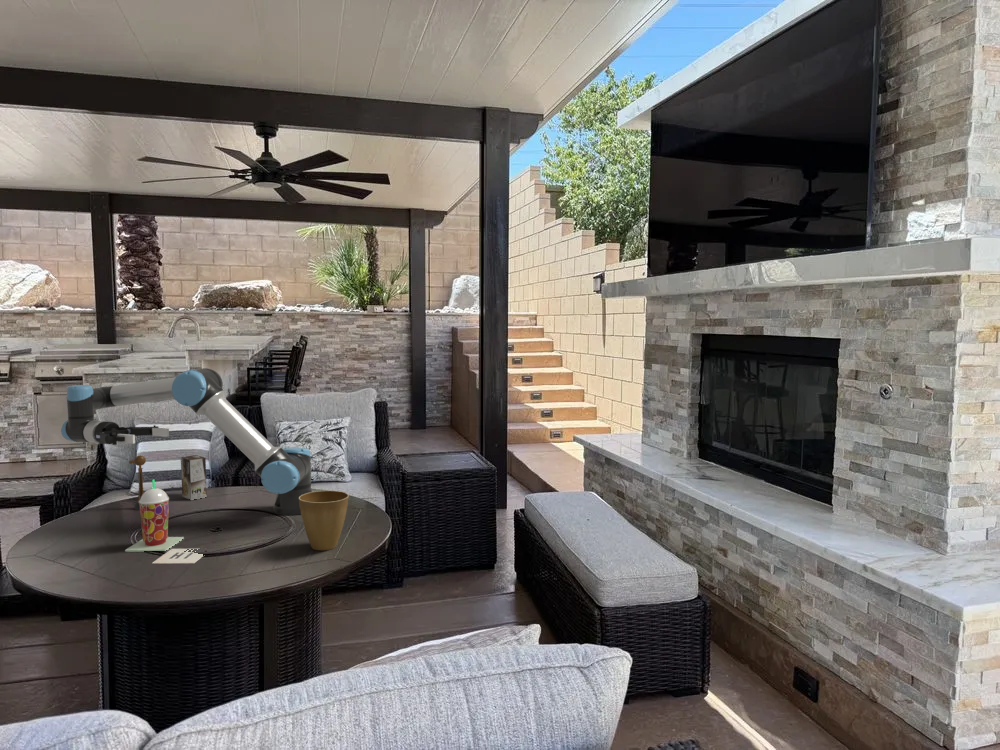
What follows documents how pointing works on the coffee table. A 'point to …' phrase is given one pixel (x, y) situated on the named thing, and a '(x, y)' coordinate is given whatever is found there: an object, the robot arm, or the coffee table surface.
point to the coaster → (165, 546)
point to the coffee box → (193, 477)
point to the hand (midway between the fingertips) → (151, 435)
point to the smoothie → (154, 516)
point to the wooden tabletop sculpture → (139, 461)
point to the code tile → (178, 557)
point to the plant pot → (323, 517)
